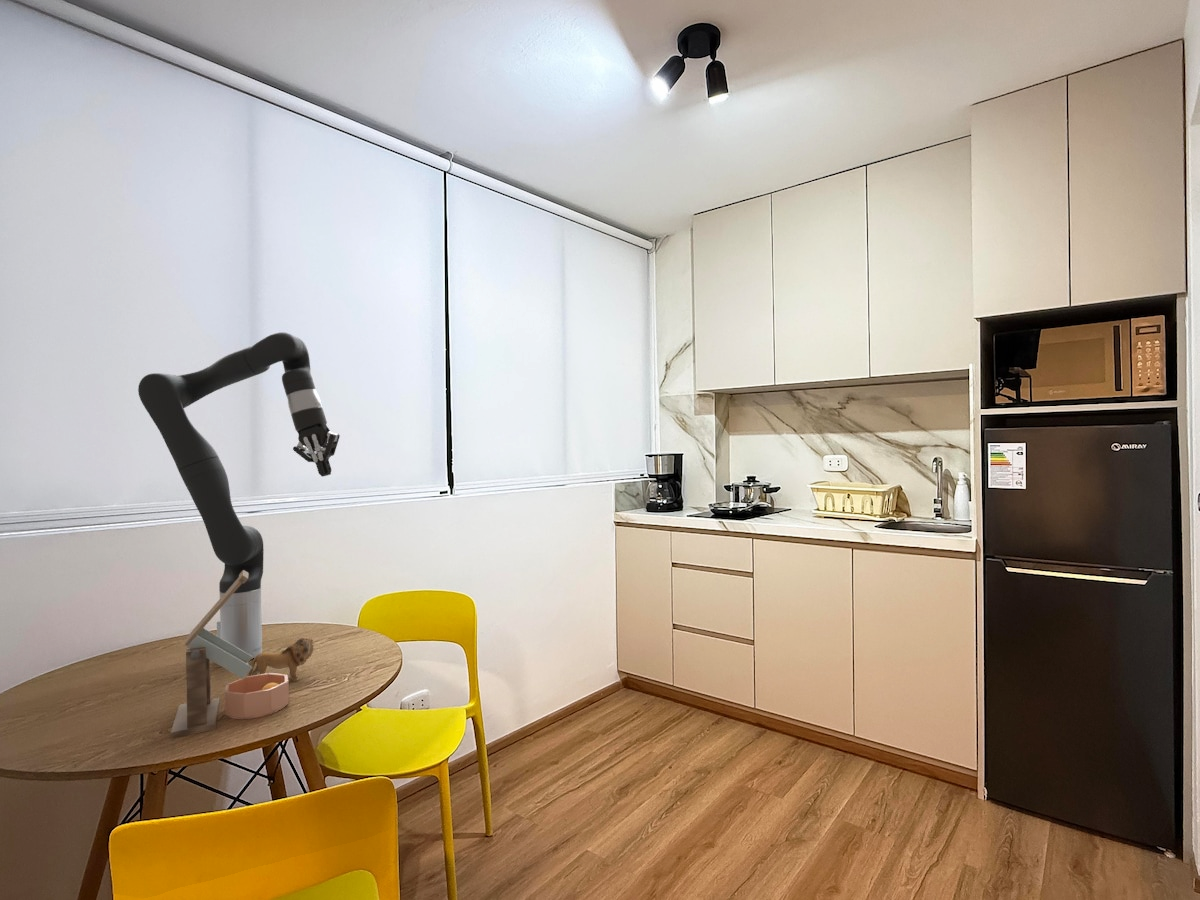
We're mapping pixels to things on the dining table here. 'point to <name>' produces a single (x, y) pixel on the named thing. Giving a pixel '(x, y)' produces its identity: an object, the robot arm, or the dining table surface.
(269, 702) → the bowl
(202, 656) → the stand
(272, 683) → the ball
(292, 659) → the lion figurine
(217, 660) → the tipping tray
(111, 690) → the dining table surface
